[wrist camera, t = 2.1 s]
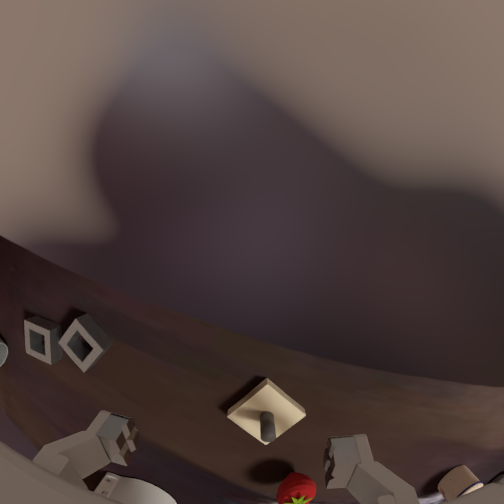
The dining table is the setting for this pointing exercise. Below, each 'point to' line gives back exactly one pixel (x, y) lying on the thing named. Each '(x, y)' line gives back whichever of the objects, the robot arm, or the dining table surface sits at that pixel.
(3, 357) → the ceramic mug
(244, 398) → the block
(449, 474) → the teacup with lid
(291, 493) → the strawberry
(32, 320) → the white square box
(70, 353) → the end link
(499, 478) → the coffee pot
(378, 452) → the dining table surface
